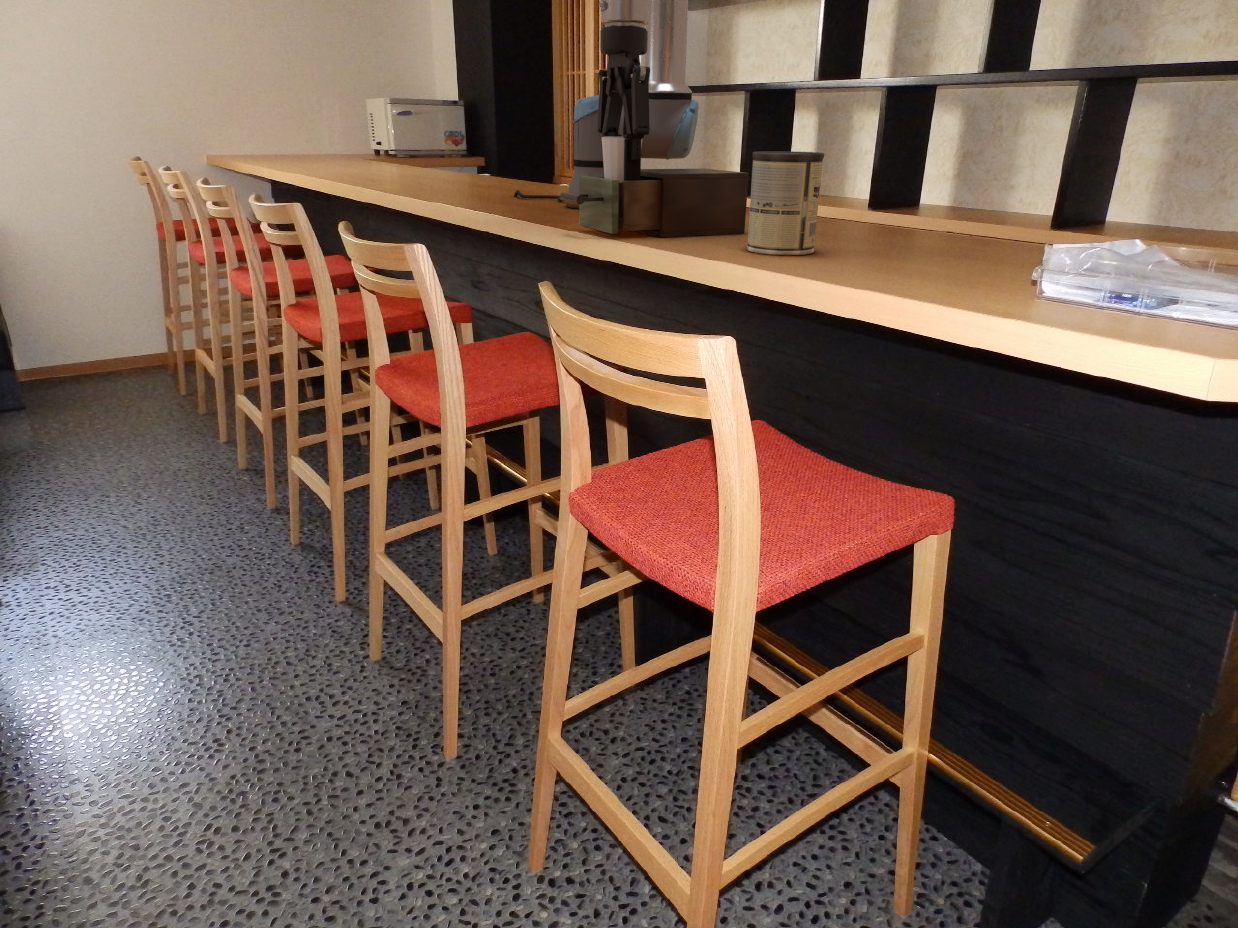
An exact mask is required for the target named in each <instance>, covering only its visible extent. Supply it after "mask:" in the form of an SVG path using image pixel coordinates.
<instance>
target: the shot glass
mask: <svg viewBox="0 0 1238 928" xmlns="http://www.w3.org/2000/svg"><path fill="white" fill-rule="evenodd" d="M641 148H642V140H641ZM602 150H603V164H604V178H607V179H614V180H619V183H622V181H624V137H616V136H605V137H602Z"/></svg>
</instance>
